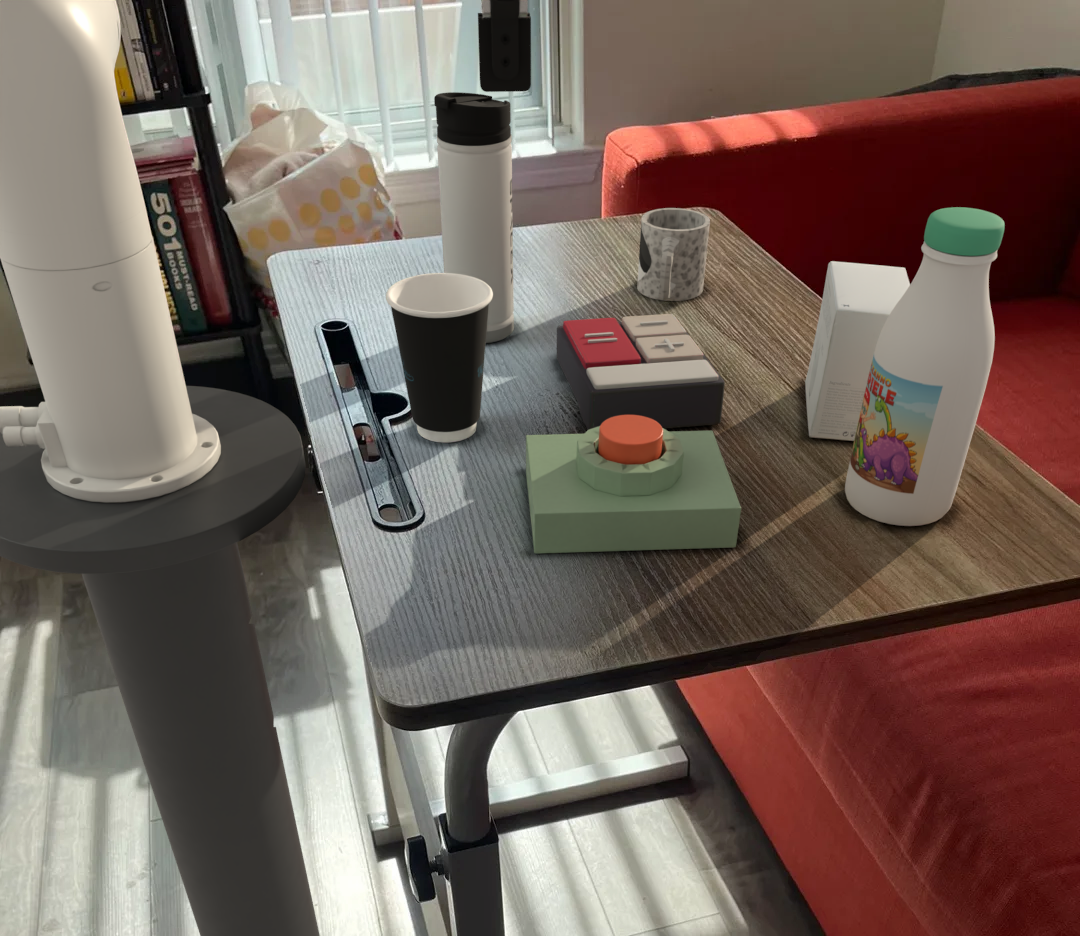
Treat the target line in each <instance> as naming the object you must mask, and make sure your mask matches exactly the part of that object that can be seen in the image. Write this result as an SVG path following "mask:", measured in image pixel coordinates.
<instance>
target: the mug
mask: <svg viewBox="0 0 1080 936" xmlns="http://www.w3.org/2000/svg"><path fill="white" fill-rule="evenodd" d="M710 227H711V219H710V217H709V215H706V214H705V213H703V212H700V211H698V210H693V209H688V208H681V207H677V208H676V207H665V208H664V207H663V208H656V209H652V210H649V211H646V212H645V213H643V215H642V216H641V220H640V234H639V235H640V236H639V252H638V267H637V282H636V283H637V284H636V289H637V291H638V292H639V294H641V295H643V296H645V297H647V298H650V299H653V300H658V301H665V302H666V301H667V302H681V301H687V300H688V301H689V300H692V299H695V298H697V297H699V296H701V295H702V293H703V291H704V285H705V283H704V282H705V274H706V264H707V255H708V247H709V237H710V236H709V235H710Z"/></svg>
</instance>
